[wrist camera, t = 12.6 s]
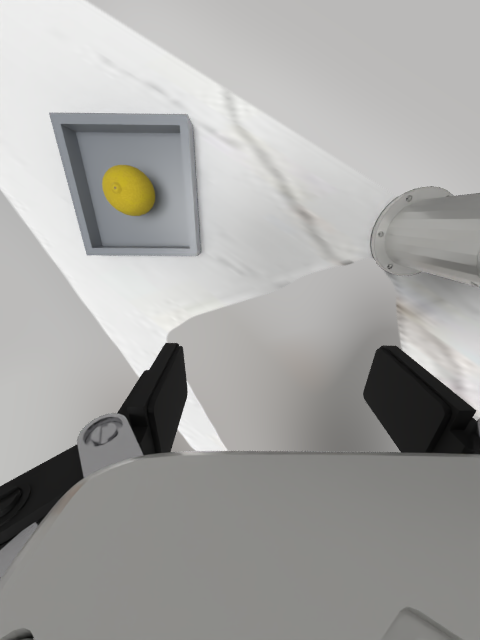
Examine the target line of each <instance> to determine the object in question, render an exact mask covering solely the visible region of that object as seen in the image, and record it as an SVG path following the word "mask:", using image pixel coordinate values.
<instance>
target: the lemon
mask: <svg viewBox="0 0 480 640" xmlns="http://www.w3.org/2000/svg"><path fill="white" fill-rule="evenodd" d="M102 188H103V192H104V195H105V197H106V199H107V201H108V202H109V203H110V204H111V205H112V206H113V207H114V208H115V209H116V210H118V211H120V212H122V213H124V214H126V215H130V216H141V215H144V214H146V213H147V212H149V211H150V210H151V208H152V207H153V205H154V202H155V190H154V187H153V185H152V183H151V181H150V180H149V178H148V177H147V176H146V175H145V174H144V173H143V172H142V171H140V170H139V169H137V168H135V167H132V166H129V165H116V166H113V167H111V168H110V169H108V170H107V171H106V173H105V174H104V177H103V180H102Z"/></svg>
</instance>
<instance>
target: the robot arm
mask: <svg viewBox="0 0 480 640" xmlns="http://www.w3.org/2000/svg"><path fill="white" fill-rule="evenodd" d="M378 233H379V235H378ZM371 249H372V254H373V257H374V259H375V261H376V263H377V264H378V265H379V266H380V267H381V268H382V269H383V270H385V271H386V272H389V273H391V274H395V275H399V276H409V275H414V274H417V273H420V272H426V273H429V274H433V275H436V276H440V277H444V278H447V279H451V280H454V281H458V282H462V283H465V284H469V285H472V286H476V287H479V288H480V193H476V194H467V195H458V196H453V195H452V194H451V193H450V192H448V191H447V190H445V189H442V188H440V187H432V186H431V187H422V188H418V189H413V190H411V191H408V192H406V193H404V194H402V195H401V196H399V197H397V198H396V199H395V200H394V201H393V202H391V203H390V204H389V205H388V206H387V208H386V209H385V210H384V211H383V212H382V214H381V215H380V217H379V219H378V220H377V223H376V225H375V227H374V230H373V234H372V239H371ZM363 395H364V399H365V400H366V402H367V404H368V405H369V406H370V408H371V409H372V411H373V412H374V414H375V415H376V416H377V418H378V420H379V421H380V422H381V424H382V425H383V427H384V428H385V429H386V431H387V433H388V434H389V435H390V437H391V438H392V440H393V441H394V443H395V444H396V446H397V447H398V448H399V450H400V451H401V453H398V452H397V453H396V452H316V451H315V452H314V451H312V452H311V451H304V452H303V451H192V452H191V451H188V452H171V448H172V445H173V441H174V438H175V435H176V432H177V428H178V425H179V422H180V418H181V415H182V412H183V408H184V405H185V402H186V399H187V382H186V372H185V363H184V354H183V347H182V346H179V344H177V343H165V345H164V346H163V348H162V350H161V351H160V353H159V355H158V356H157V358H156V360H155V361H154V363H153V364H152V366H151V368H150V369H149V370H146V371H144V372H143V374H142V375H141V377H140V378H139V380H138V381H137V383H136V385H135V386H134V388H133V389H132V391H131V393H130V394H129V396H128V397H127V399H126V400H125V402H124V403H123V405H122V407H121V408H120V410H119V411H118V413H111V414H106V415H103V416H100V417H98V418H96V419H94V420H92V421H91V422H90V423H89V424H87V425H86V426H85V427H84V428H83V430H82V431H81V432H80V434H79V436H78V439H77V445H75V446H73V447H72V448H70V449H68V450H66V451H64V452H62V453H61V454H59V455H57V456H55V457H53V458H51V459H50V460H48V461H46V462H44V463H42V464H40V465H39V466H37V467H35V468H33V469H31V470H29V471H28V472H26V473H24V474H22V475H20V476H18V477H17V478H15V479H13V480H11V481H9V482H7V483H5V484H4V485H2V486H0V640H33V638H34V640H480V419H478V421H476V420H475V419H474V418H472V417H473V416H474V414H475V412H476V410H475V409H474V408H472V407H471V406H470V405H469V404H467V403H466V402H465V401H464V400H463V399H461V398H460V397H459V396H458V395H456V394H455V393H454V392H453V391H451V390H450V389H449V388H448V387H446V386H445V385H444V384H443V383H441V382H440V381H439V380H438V379H437V378H435V377H434V376H433V375H432V374H430V373H429V372H428V371H427V370H425V369H424V368H423V367H422V366H420V365H419V364H418V363H417V362H416V361H414V360H413V359H412V358H411V357H409V356H408V355H407V354H406V353H404V352H403V351H402V350H401V349H399V348H398V347H397V346H381V347H380V348H379V349H377V350H376V353H375V356H374V359H373V363H372V366H371V369H370V372H369V376H368V379H367V382H366V386H365V389H364V393H363Z"/></svg>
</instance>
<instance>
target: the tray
mask: <svg viewBox="0 0 480 640" xmlns="http://www.w3.org/2000/svg"><path fill="white" fill-rule="evenodd" d="M49 114H50V118H51V122H52V126H53V129H54V133H55V137H56V141H57V144H58V148H59V152H60V156H61V160H62V163H63V167H64V171H65V175H66V178H67V182H68V186H69V190H70V193H71V197H72V201H73V205H74V208H75V212H76V216H77V220H78V223H79V227H80V231H81V235H82V239H83V242H84V246H85V250H86V254H87V255H148V256H198V255H199V254H200V253H201V247H200V231H199V215H198V199H197V183H196V167H195V151H194V135H193V125H192V123H191V121H190V119H189V117H188V115H187V114H117V113H49ZM116 165H129V166H132V167H135V168H137V169H139V170H140V171H142V172H143V173H144V174H145V175H146V176H147V177H148V178H149V180H150V181H151V183H152V185H153V187H154V190H155V202H154V205H153V207H152V208H151V210H150V211H149V212H147V213H146V214H144V215H141V216H130V215H126V214H124V213H122V212H120V211H118V210H116V209H115V208H114V207H113V206H112V205H111V204H110V203H109V202H108V201H107V199H106V197H105V195H104V192H103V188H102V180H103V177H104V174H105V173H106V171H107V170H108V169H110V168H111V167H113V166H116Z"/></svg>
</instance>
